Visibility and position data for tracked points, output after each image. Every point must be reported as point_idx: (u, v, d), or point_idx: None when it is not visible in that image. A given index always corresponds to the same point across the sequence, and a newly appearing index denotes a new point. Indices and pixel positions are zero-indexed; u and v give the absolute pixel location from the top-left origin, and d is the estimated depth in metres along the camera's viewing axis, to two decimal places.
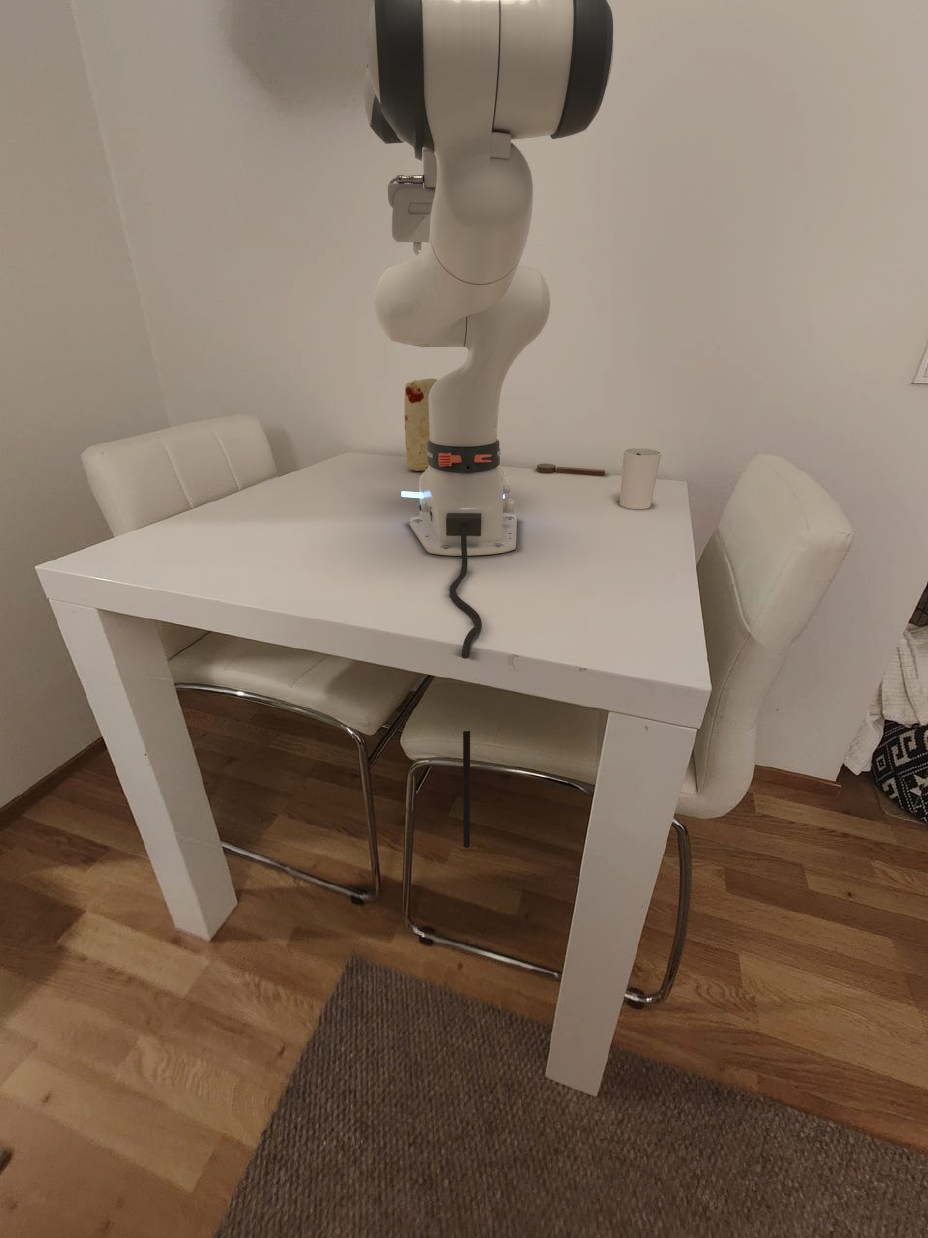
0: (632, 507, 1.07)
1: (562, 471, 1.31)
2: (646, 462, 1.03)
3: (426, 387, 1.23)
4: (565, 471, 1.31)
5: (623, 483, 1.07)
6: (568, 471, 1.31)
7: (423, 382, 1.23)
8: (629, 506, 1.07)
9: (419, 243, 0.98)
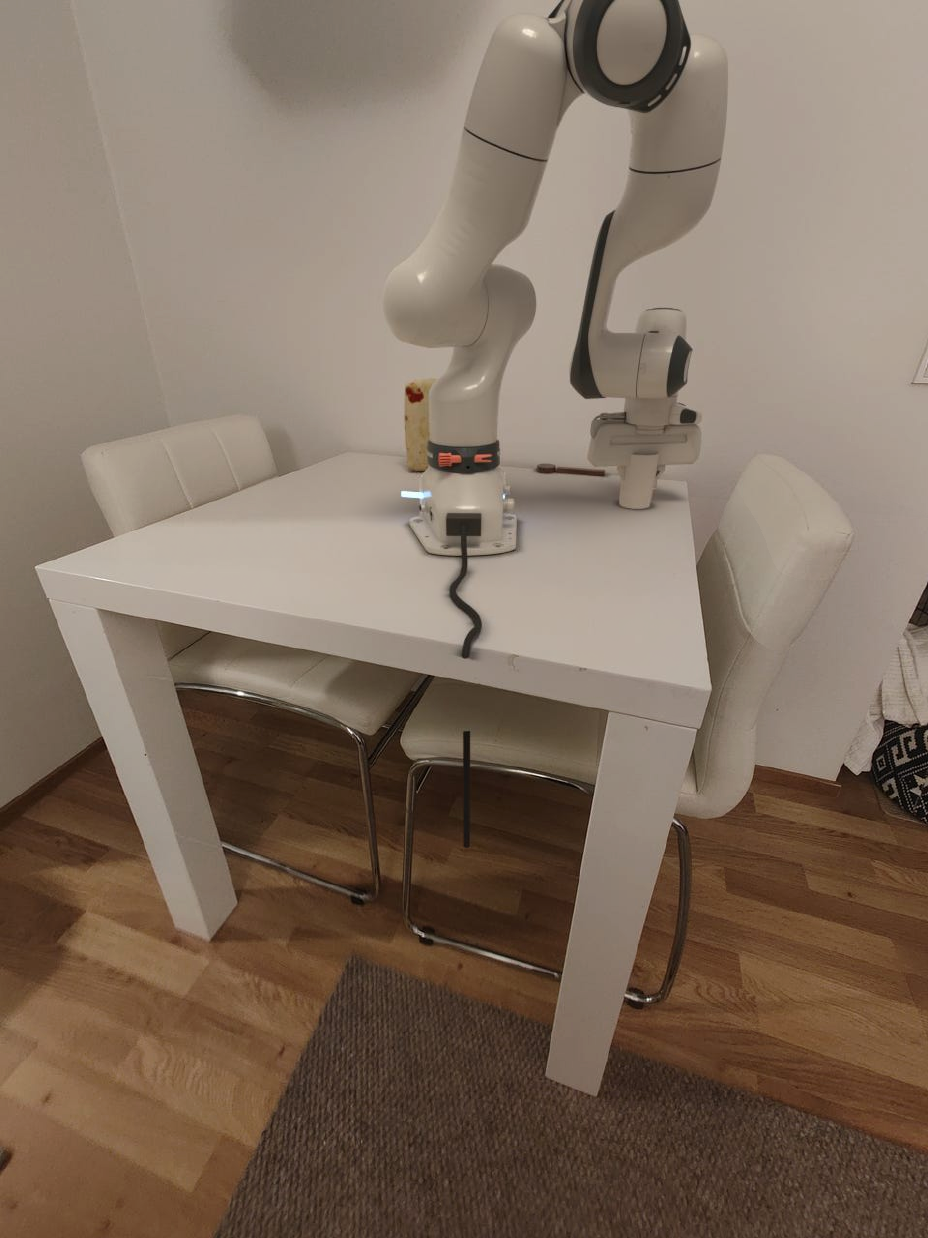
0: (631, 507, 1.07)
1: (562, 471, 1.31)
2: (645, 462, 1.03)
3: (426, 387, 1.23)
4: (565, 471, 1.31)
5: (622, 483, 1.07)
6: (568, 471, 1.31)
7: (423, 382, 1.23)
8: (628, 506, 1.07)
9: None
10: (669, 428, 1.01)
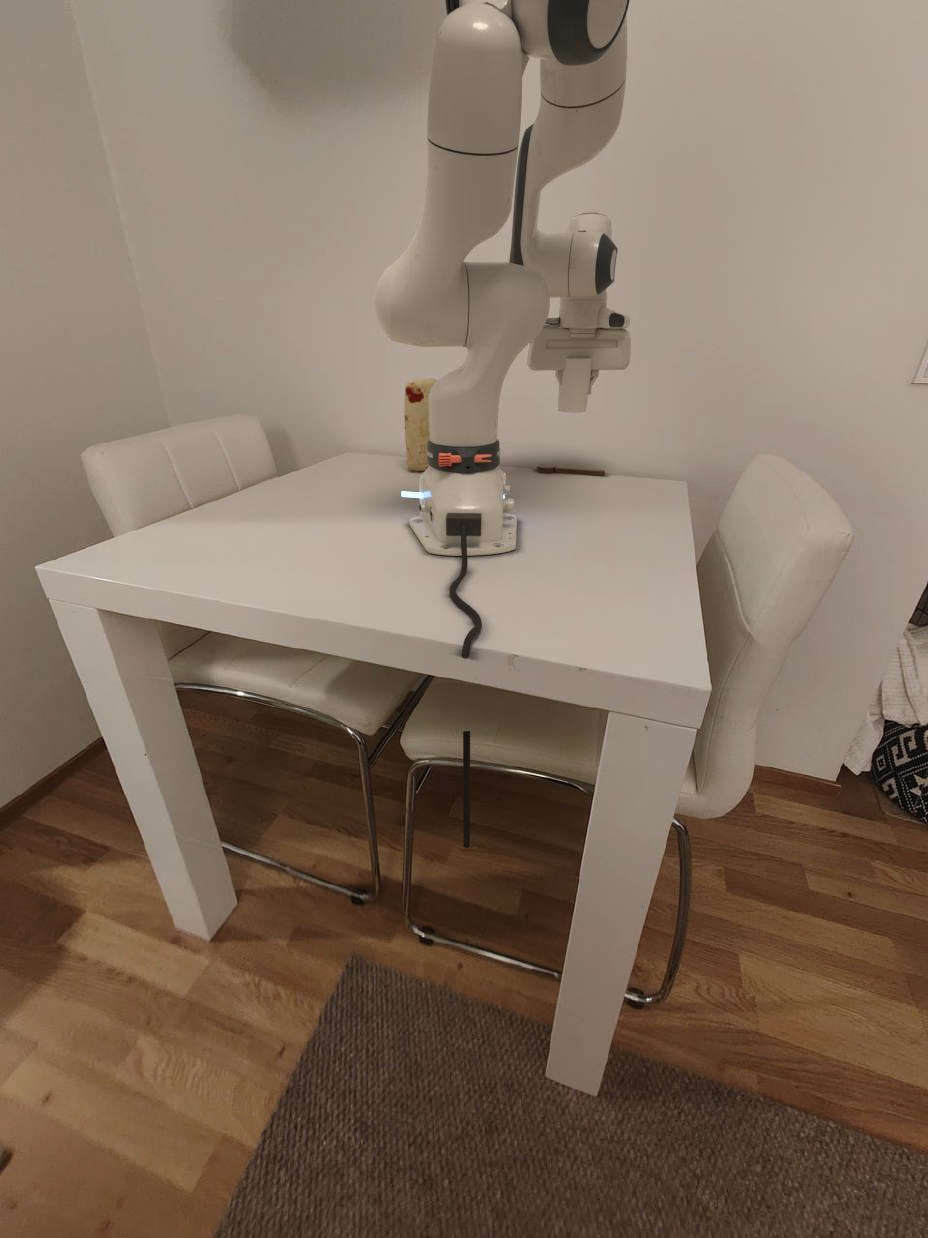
0: (567, 411, 1.15)
1: (562, 471, 1.31)
2: (578, 365, 1.11)
3: (426, 387, 1.23)
4: (565, 471, 1.31)
5: (559, 388, 1.15)
6: (568, 471, 1.31)
7: (423, 382, 1.23)
8: (565, 410, 1.16)
9: None
10: (600, 332, 1.09)
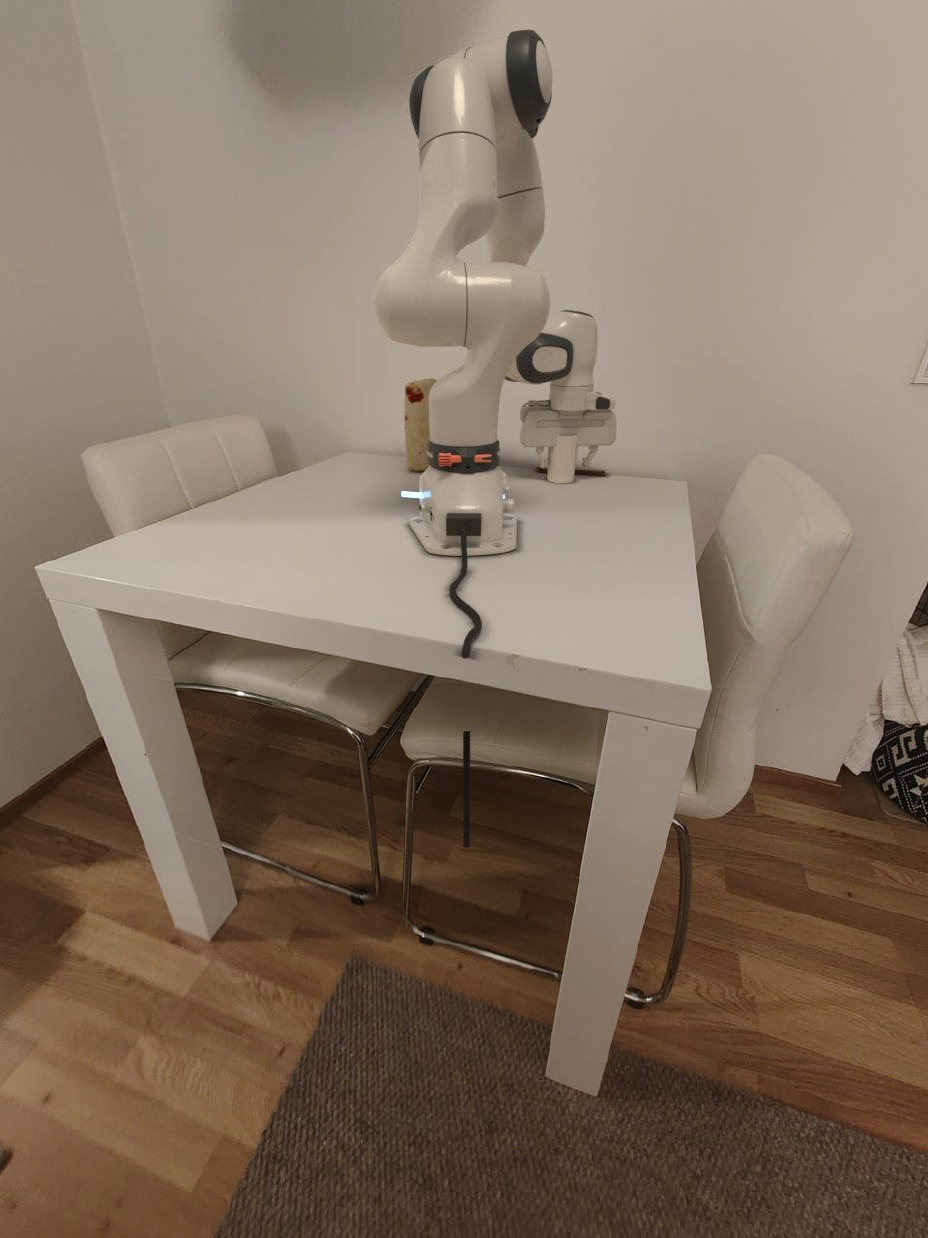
0: (556, 481, 1.24)
1: None
2: (565, 442, 1.19)
3: (426, 387, 1.23)
4: None
5: None
6: None
7: (423, 382, 1.23)
8: (553, 480, 1.24)
9: (542, 447, 1.21)
10: (587, 413, 1.17)
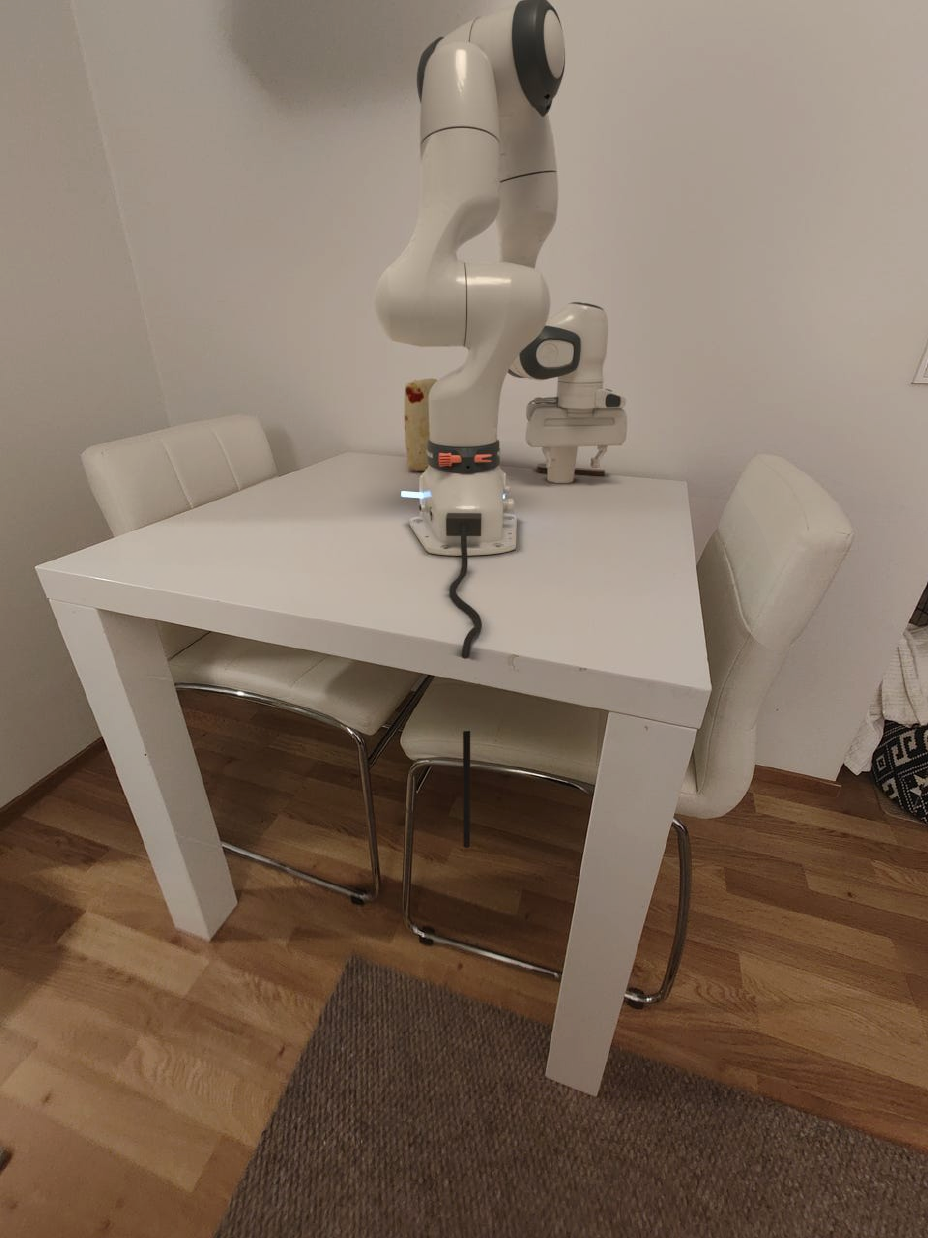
0: (556, 481, 1.24)
1: None
2: None
3: (426, 387, 1.23)
4: None
5: None
6: None
7: (423, 382, 1.23)
8: (553, 480, 1.24)
9: (549, 447, 1.15)
10: (597, 411, 1.11)
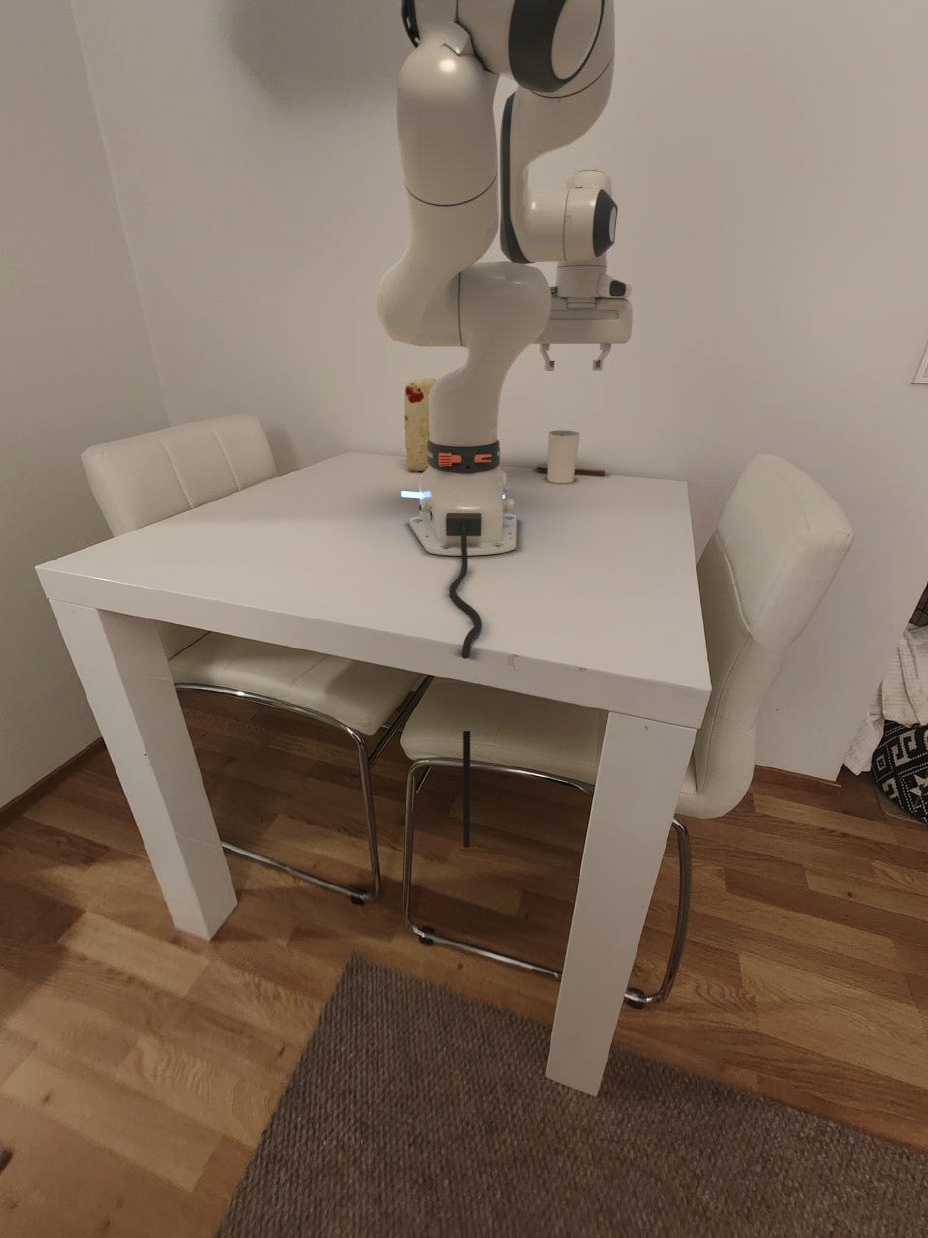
0: (556, 481, 1.24)
1: None
2: (565, 442, 1.19)
3: (426, 387, 1.23)
4: None
5: (548, 460, 1.24)
6: None
7: (423, 382, 1.23)
8: (553, 480, 1.24)
9: (548, 344, 1.05)
10: (600, 302, 1.02)
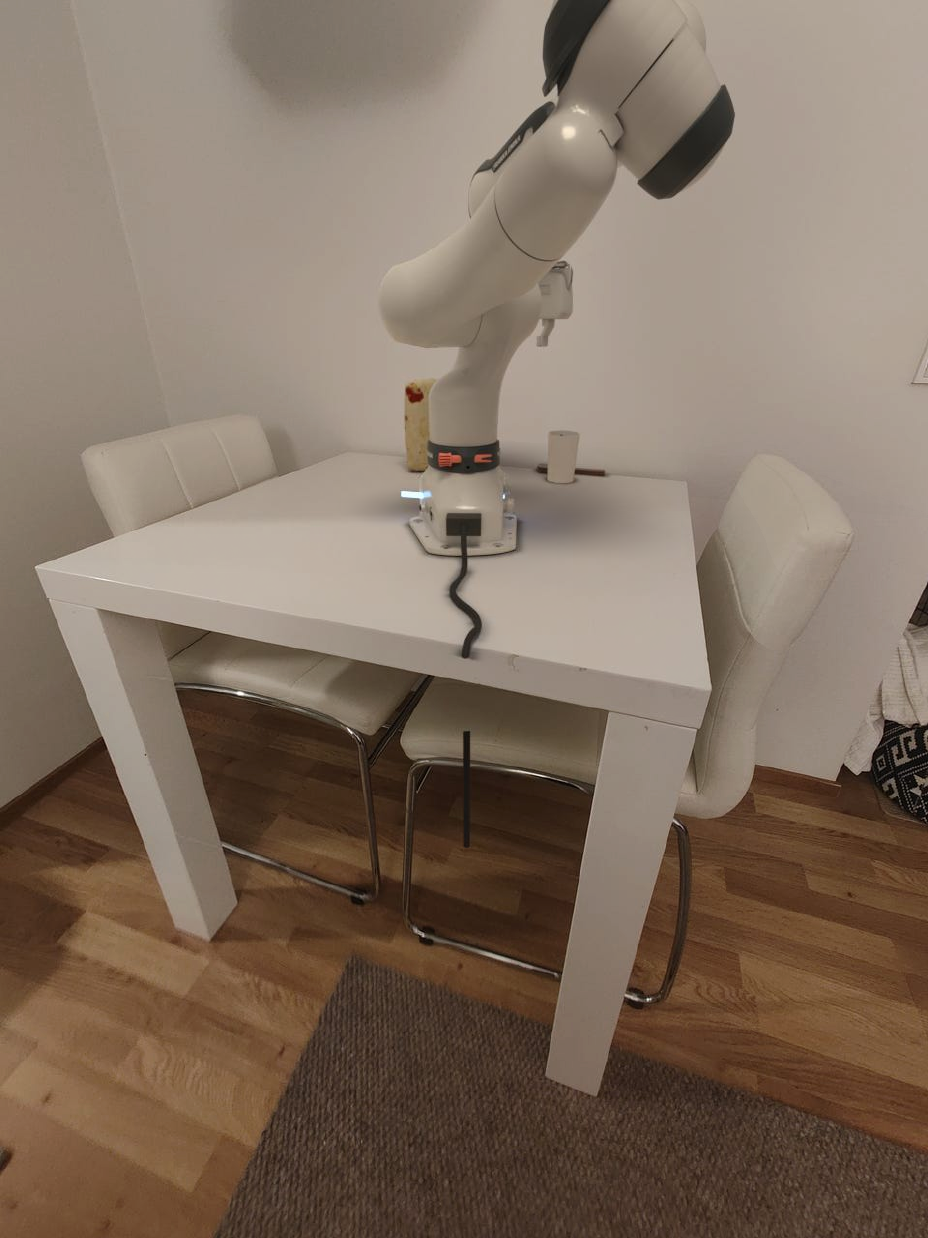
0: (556, 481, 1.24)
1: None
2: (565, 442, 1.19)
3: (426, 387, 1.23)
4: None
5: (548, 460, 1.24)
6: None
7: (423, 382, 1.23)
8: (553, 480, 1.24)
9: None
10: None
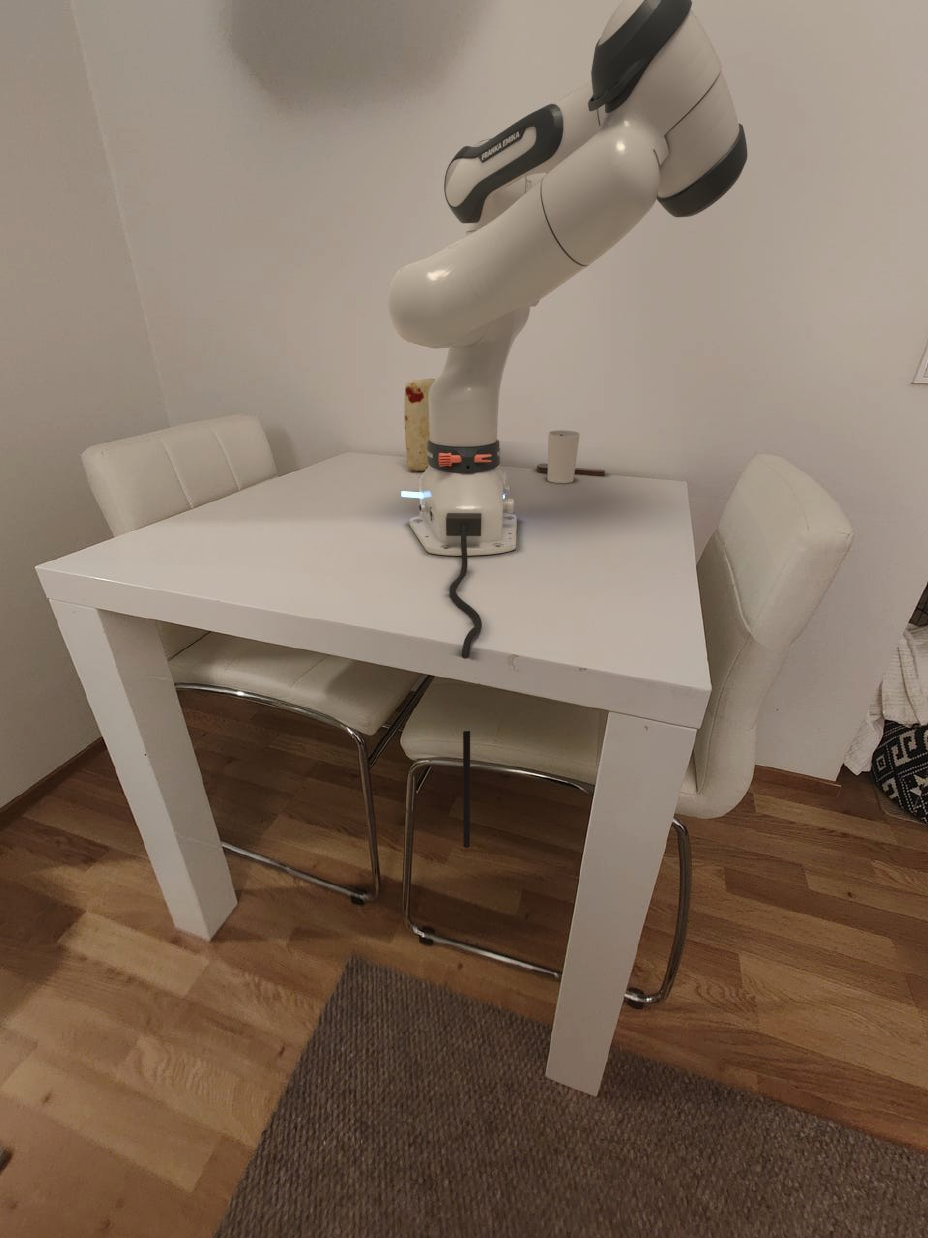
0: (556, 481, 1.24)
1: None
2: (565, 442, 1.19)
3: (426, 387, 1.23)
4: None
5: (548, 460, 1.24)
6: None
7: (423, 382, 1.23)
8: (553, 480, 1.24)
9: None
10: None
